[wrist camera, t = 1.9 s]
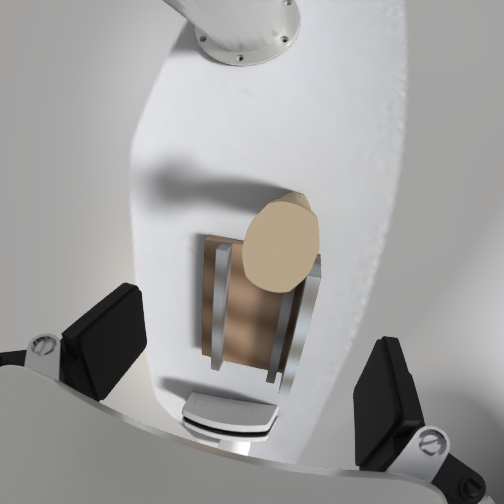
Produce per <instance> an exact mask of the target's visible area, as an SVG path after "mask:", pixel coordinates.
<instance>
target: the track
mask: <svg viewBox="0 0 504 504" xmlns="http://www.w3.org/2000/svg"><path fill="white" fill-rule="evenodd" d="M243 243H244V241H241V240H235V239H229V238H224V237H218V236H212V235H209V236H208V237H206V238H205V251H204V275H203V310H202V355H205V356H209V357H211V369H213V370H217V371H219V370H220V367H221V365H222V363H223V361H224V360H225V361H229V362H233V363H237V364H242V365H246V366H250V367H255V368H260V369H265V370H268V374H267V379H266V382H269V383H274V381H275V377H276V373H277V372H280V373H282V378H281V383H280V388H279V393H278V397H279V398H285V399H288V396H289V393H290V390H291V387H292V384H293V380H294V377H295V374H296V371H297V367H298V364H299V360H300V357H301V354H302V350H303V347H304V343H305V339H306V336H307V332H308V328H309V325H310V321H311V317H312V313H313V309H314V305H315V301H316V297H317V293H318V289H319V285H320V281H321V258H320V254H317V256H316V259H315V261H314V264H313V266H312V268H311V270H310V272H309V274H308V275H307V276H306V277H305V279H304V280H303V281H301V282H300V283H299V284H298V285H297V286H296V287H294V288H293V289H292V290H291V291H289V292H282V293H277V292H271V291H268V290H264V289H262V288H260V287H258V286H256V285H255V284H253V283H252V282H251V281H250V280H249V279H248V278H247V277H246V276H245V271H244V265H243V259H242V248H243Z"/></svg>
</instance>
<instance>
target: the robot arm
mask: <svg viewBox="0 0 504 504" xmlns="http://www.w3.org/2000/svg"><path fill="white" fill-rule="evenodd" d="M163 1H165V2H166V3H167V4H168V5H170V6H171V7H173V8H174V9H175V10H176V11H178V12H179V13H180V14H181V15H182V16H184V17H185V18H186V19H187V20H189V21H190V22H191V23H192V24H193V25H195V27H194V30H195V36H196V39H197V41H198V44H199V45H200V46H201V48H202V49H203V50H204V51H205V52H206V53H207V54H208V55H210V56H211V57H213V58H214V59H216V60H218V61H220V62H223V63H226V64H230V65H236V66H248V65H256V64H260V63H264V62H267V61H269V60H271V59H274V58H275V57H277V56H279V55H280V54H282V53H283V52H284V51H286V50H287V49H288V48H289V47H290V46H291V44H292V43H293V42H294V41H295V39H296V37H297V35H298V33H299V30H300V25H301V16H300V11H299V8H298V6H297V3H296V2H295V0H163ZM288 4H291V5H288ZM204 40H206V41H204ZM284 40H287V42H283V41H284ZM241 58H243V60H242V61H240V59H241ZM62 337H63V338H62V339H61V340H59V338H58V337H56V336H55V335H52V334H41V335H38V336H36V337H35V338H33V339H32V340H31V341H30V342H29V345H28V347H27V350H21V351H12V352H3V353H0V504H495V503H494V502H493V500H492V499H491V498H490V496H488V497H487V498H486V497H485V496H484V494H485V492H486V485H485V481H484V480H483V478H482V477H481V476H480V475H479V474H478V473H476V472H475V471H473V470H472V469H471V468H469V467H468V466H466V465H465V464H464V463H462V462H461V461H459V460H458V459H457V458H455V457H454V456H452V455H451V454H450V453H449V450H450V440H449V438H448V436H447V434H446V433H445V432H444V431H443V430H442V429H440V428H438V427H436V426H425V422H424V418H423V414H422V410H421V406H420V403H419V399H418V395H417V392H416V388H415V384H414V381H413V378H412V375H411V374H410V373H409V371H408V368H407V365H406V362H405V359H404V355H403V352H402V349H401V346H400V343H399V340H398V338H394V337H386V336H384V337H382V338H381V340H380V339H378V340H377V341H376V343H375V345H374V348H373V350H372V352H371V355H370V357H369V359H368V361H367V364H366V366H365V368H364V370H363V372H362V374H361V376H360V378H359V380H358V382H357V384H356V386H355V389H354V393H353V400H354V422H355V463H356V466H359V471H357V470H340V469H328V468H319V467H309V466H301V465H294V464H288V463H281V462H275V461H270V460H264V459H259V458H255V457H250V456H245V455H241V454H237V453H233V452H229V451H225V450H221V449H218V448H214V447H210V446H207V445H204V444H200V443H197V442H194V441H191V440H188V439H185V438H182V437H179V436H176V435H173V434H170V433H168V432H165V431H162V430H160V429H157V428H155V427H152V426H149V425H147V424H145V423H142V422H140V421H137V420H135V419H133V418H131V417H128V416H126V415H124V414H122V413H120V412H117V411H115V410H113V409H111V408H109V407H107V406H105V405H103V404H101V403H99V401H100V400H104V399H105V398H106V397H107V395H108V394H109V393H110V392H111V390H112V389H113V388H114V387H115V385H116V384H117V383H118V382H119V380H120V379H121V378H122V377H123V375H124V374H125V373H126V372H127V370H128V369H129V368H130V367H131V365H132V364H133V363H134V362H135V360H136V359H137V358H138V357H139V355H140V354H141V353H142V352H143V350H144V349H145V348H146V345H147V337H146V329H145V321H144V312H143V302H142V292H141V291H140V290H139V288H138V286H136V285H132V284H129V283H123V284H122V285H120V286H119V287H118V288H117V289H115V290H114V291H113V292H111V293H110V294H109V295H108V296H106V297H105V298H104V299H103V300H101V301H100V302H99V303H98V304H96V305H95V306H94V307H93V308H91V309H90V310H89V311H88V312H87V313H85V314H84V315H83V316H82V317H81V318H79V319H78V320H77V321H76V322H74V324H72V325H71V326H70V327H68V328H67V330H65V331H64V332H63V333H62Z"/></svg>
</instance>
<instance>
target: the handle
mask: <svg viewBox="0 0 504 504" xmlns="http://www.w3.org/2000/svg"><path fill="white" fill-rule="evenodd" d="M318 250H319V230H318V220H317V217H316V215H315V214H314V213H313V212H312V211H311V208H310V204H309V202H308V200H307V198H306V196H305V195H304V194H299V193H296V192H295V191H291V192H289V193H287V194H285V195H283V196H282V197H281V198H279V199H276V200H273V201H270V202H269V203H268V204H267V205H266V206H265V207H264V208H263V209H262V210H261V211H260V212H259V213H258V215H257V216H256V217H255V218H254V219H253V220H252V222H251V223H250V225H249V228H248V230H247V233H246V236H245V240H244V243H243V248H242V259H243V265H244V271H245V276H246V277H247V278H248V279H249V280H250V281H251V282H252V283H253V284H255V285H256V286H258V287H260V288H262V289H264V290H268V291H271V292H277V293H282V292H289V291H291V290H292V289H293V288H294V287H296V286H297V285H298V284H299V283H300V282H301V281H303V280H304V279H305V277H306V276H307V275H308V274H309V272H310V270H311V268H312V266H313V264H314V261H315V259H316V256H317V253H318Z"/></svg>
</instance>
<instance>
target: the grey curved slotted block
mask: <svg viewBox="0 0 504 504" xmlns="http://www.w3.org/2000/svg"><path fill="white" fill-rule="evenodd" d="M278 411H279V408H278V406H276V405H268V404H260V403H252V402H245V401H239V400H233V399H227V398H221V397H216V396H211V395H206V394H201V393H196V392H191V394H190V396H189V398H188V400H187V401H186V403H185V405H184V407H183V410H182V414H183V415H184V416H183V418H182V420H183V423H184V425H185V426H186V427H188V428H190V429H192V430H194V431H196V432H198V433H201V434H204V435H207V436H210V437H214V438H218V439H223V440H229V441H237V442H261V441H265V440H267V438H268V436H269V434H270V432H271V430H272V428H273V427H274V426H275V424H276V421H277V418H278V416H277V413H278Z"/></svg>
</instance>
